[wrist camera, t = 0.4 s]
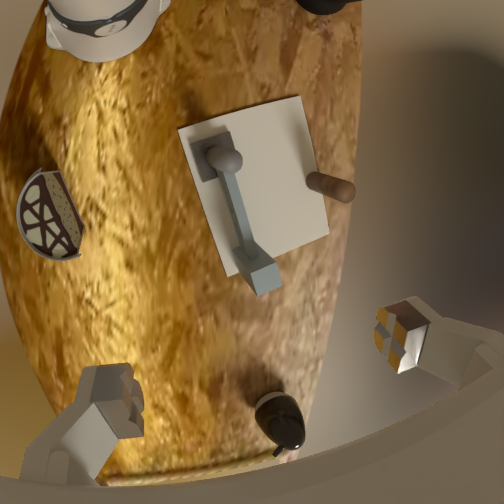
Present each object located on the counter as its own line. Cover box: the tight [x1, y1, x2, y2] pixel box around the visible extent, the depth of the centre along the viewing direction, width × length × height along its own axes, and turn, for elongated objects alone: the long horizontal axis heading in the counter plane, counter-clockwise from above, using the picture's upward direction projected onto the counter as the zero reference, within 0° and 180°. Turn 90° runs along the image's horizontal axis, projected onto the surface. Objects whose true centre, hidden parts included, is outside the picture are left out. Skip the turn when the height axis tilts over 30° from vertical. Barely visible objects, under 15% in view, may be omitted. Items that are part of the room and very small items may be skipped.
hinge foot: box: [190, 131, 235, 183], centre depth 45 cm, size 6×6×1 cm
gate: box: [206, 146, 283, 296], centre depth 45 cm, size 21×4×9 cm, turn 15°
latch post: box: [306, 172, 356, 203], centre depth 49 cm, size 3×3×10 cm
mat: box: [178, 96, 330, 277], centre depth 50 cm, size 25×20×1 cm
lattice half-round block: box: [16, 167, 85, 261], centre depth 36 cm, size 12×6×10 cm, turn 16°
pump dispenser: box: [255, 392, 305, 457], centre depth 63 cm, size 10×10×15 cm
